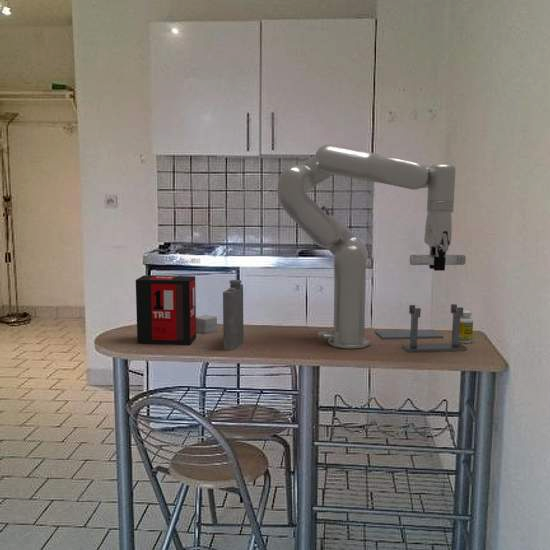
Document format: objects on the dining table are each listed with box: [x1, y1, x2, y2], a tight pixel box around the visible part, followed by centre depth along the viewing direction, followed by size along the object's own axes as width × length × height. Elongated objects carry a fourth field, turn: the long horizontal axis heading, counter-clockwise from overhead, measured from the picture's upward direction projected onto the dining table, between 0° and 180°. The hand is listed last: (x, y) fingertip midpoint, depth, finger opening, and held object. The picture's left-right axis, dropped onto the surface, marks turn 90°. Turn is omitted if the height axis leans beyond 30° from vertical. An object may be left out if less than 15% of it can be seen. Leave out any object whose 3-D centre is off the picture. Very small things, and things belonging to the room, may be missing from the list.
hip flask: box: [222, 279, 244, 352], centre depth 196 cm, size 16×4×20 cm, turn 170°
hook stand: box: [401, 303, 468, 353], centre depth 192 cm, size 18×6×13 cm, turn 96°
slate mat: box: [374, 329, 444, 340], centre depth 210 cm, size 20×9×1 cm, turn 96°
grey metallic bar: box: [409, 254, 467, 266], centre depth 189 cm, size 16×3×3 cm, turn 96°
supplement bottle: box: [459, 309, 474, 344], centre depth 202 cm, size 5×5×10 cm
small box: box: [196, 314, 218, 335], centre depth 214 cm, size 6×6×5 cm
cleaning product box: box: [135, 275, 197, 346], centre depth 200 cm, size 16×9×20 cm, turn 85°
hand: (436, 268), depth 190 cm, fingers closed on grey metallic bar, 3 cm apart
